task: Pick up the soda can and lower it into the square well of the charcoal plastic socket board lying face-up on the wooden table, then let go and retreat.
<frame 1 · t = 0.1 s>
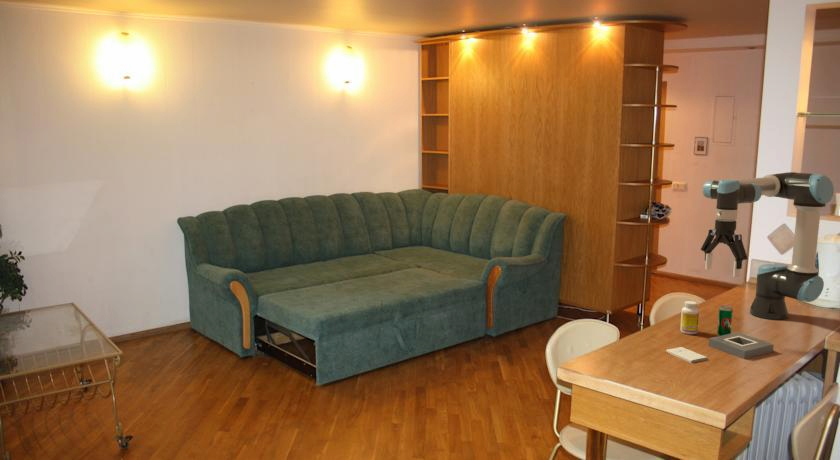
hand: (721, 273, 258), 28 cm above the table, fingers open, 13 cm apart
socket board: (740, 348, 253), on the table
external hard drive: (686, 357, 247), on the table
supplement bottle: (688, 332, 273), on the table
soda can: (723, 335, 269), on the table
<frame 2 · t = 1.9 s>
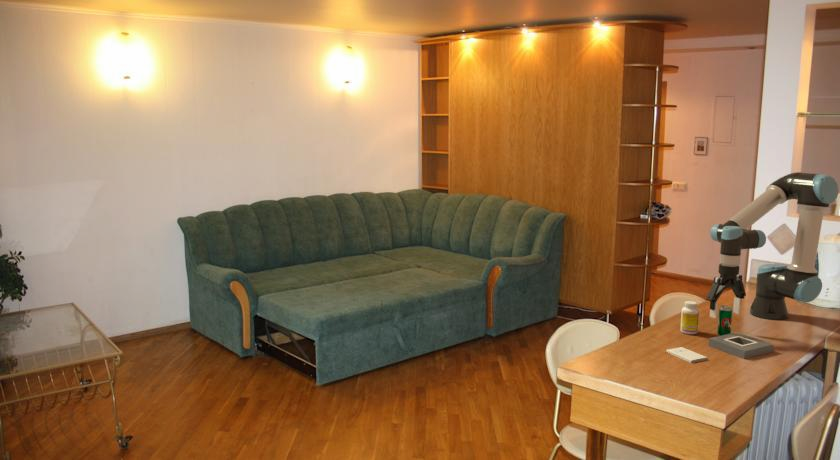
hand: (724, 315, 268), 8 cm above the table, fingers open, 13 cm apart
nothing on the table moved.
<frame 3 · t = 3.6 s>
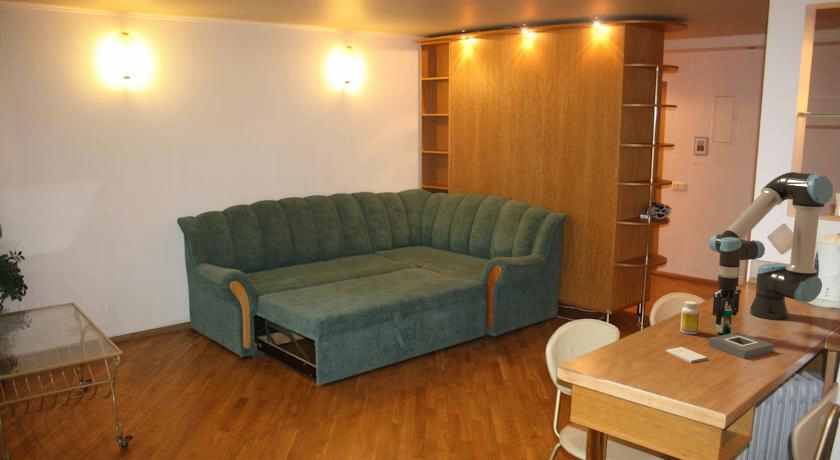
hand: (724, 330, 269), 2 cm above the table, fingers closed on soda can, 5 cm apart
soda can: (723, 335, 269), on the table, touching gripper
everything else where it was.
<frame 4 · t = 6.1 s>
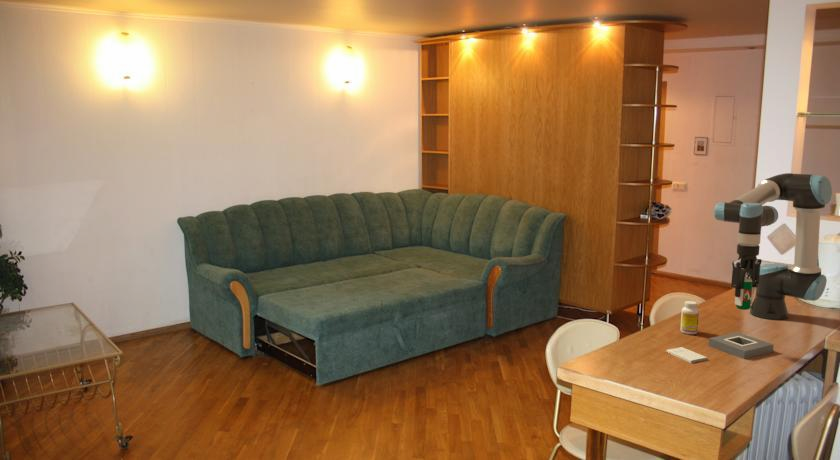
hand: (743, 303, 250), 18 cm above the table, fingers closed on soda can, 5 cm apart
soda can: (743, 308, 251), point 16 cm above the table, touching gripper
everything else where it was.
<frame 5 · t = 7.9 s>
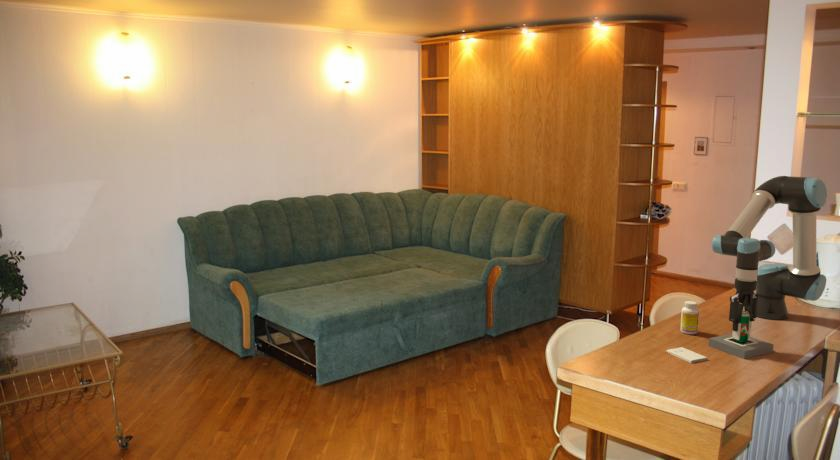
hand: (741, 337, 253), 4 cm above the table, fingers closed on soda can, 5 cm apart
soda can: (740, 342, 253), point 3 cm above the table, touching gripper
everything else where it was.
when the fingers open (4 cm above the table, at t = 8.7 s): soda can drops 2 cm, resting in socket board.
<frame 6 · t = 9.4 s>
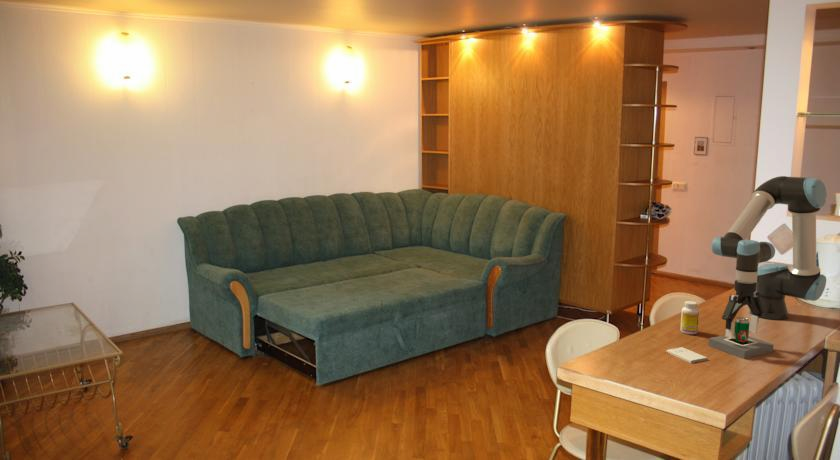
hand: (741, 334, 253), 6 cm above the table, fingers open, 13 cm apart
soda can: (740, 349, 254), resting in socket board
everything else where it was.
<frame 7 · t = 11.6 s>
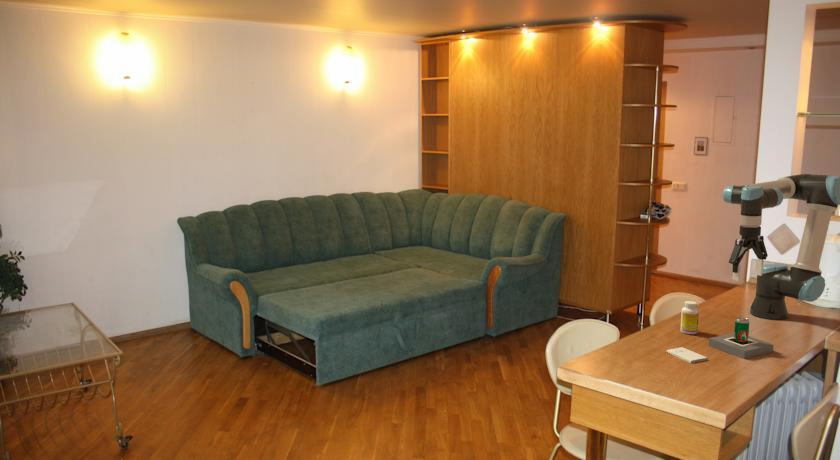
hand: (747, 277, 262), 25 cm above the table, fingers open, 13 cm apart
nothing on the table moved.
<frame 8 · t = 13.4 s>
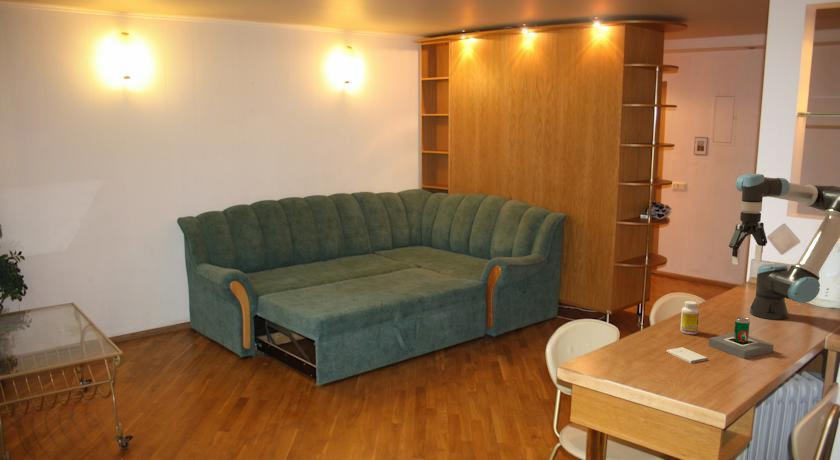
hand: (746, 262, 272), 29 cm above the table, fingers open, 13 cm apart
nothing on the table moved.
at the end: soda can 0.0 cm off-centre on the socket board, point 0.0 cm above the socket board's base; soda can tilted 0°; the gripper is holding nothing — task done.
